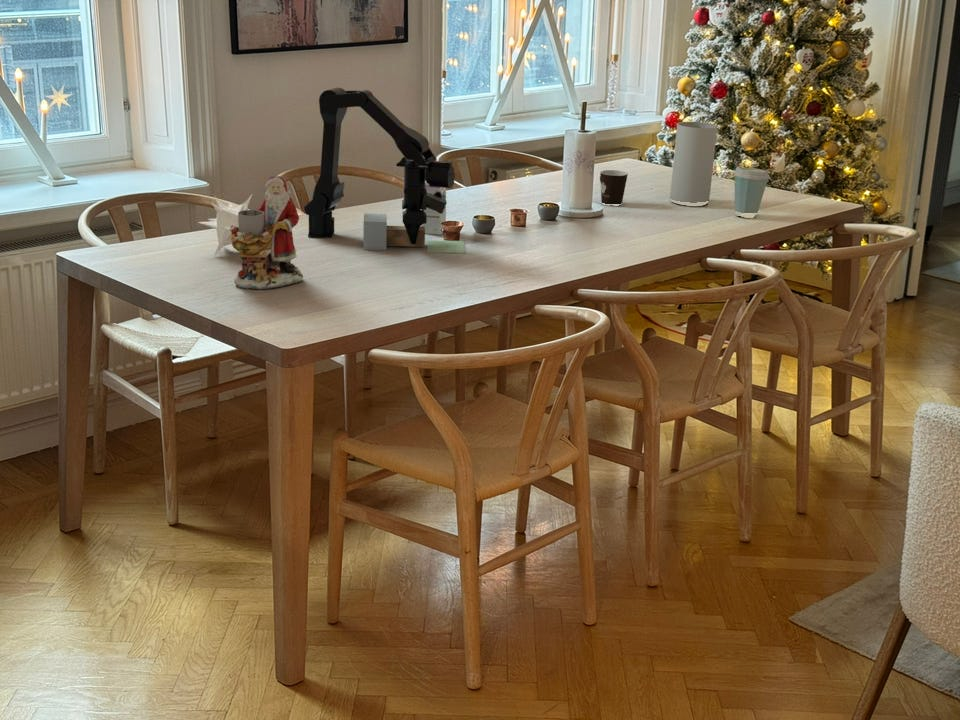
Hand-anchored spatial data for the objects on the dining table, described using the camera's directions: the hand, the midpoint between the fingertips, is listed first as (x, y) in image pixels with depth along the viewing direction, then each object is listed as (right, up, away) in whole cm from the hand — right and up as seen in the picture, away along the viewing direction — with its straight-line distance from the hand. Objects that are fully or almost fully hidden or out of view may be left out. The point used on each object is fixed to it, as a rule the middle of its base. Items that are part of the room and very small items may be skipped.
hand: (413, 241), depth 315 cm
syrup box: (+5, +4, +16) cm, 17 cm away
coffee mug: (+59, +18, +60) cm, 86 cm away
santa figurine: (-33, -13, -35) cm, 50 cm away
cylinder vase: (+85, +19, +65) cm, 109 cm away
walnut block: (-5, -1, 0) cm, 5 cm away
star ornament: (-46, -4, -11) cm, 47 cm away
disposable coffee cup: (+100, +13, +50) cm, 113 cm away
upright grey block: (-10, -1, 0) cm, 10 cm away
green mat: (+9, -1, +1) cm, 9 cm away
